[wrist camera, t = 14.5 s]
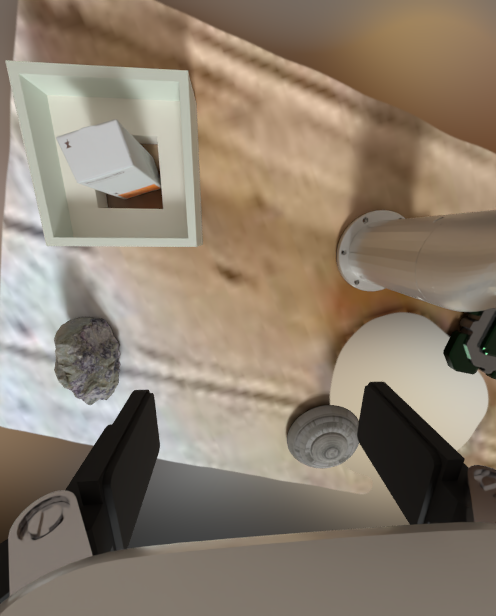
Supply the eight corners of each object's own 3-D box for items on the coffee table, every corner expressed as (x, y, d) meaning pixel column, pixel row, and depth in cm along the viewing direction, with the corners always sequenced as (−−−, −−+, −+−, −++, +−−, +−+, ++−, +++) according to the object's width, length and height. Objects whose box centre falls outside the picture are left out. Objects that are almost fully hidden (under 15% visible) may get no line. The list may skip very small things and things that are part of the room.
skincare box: (125, 201, 35) (74, 184, 24) (112, 168, 34) (52, 135, 22) (165, 188, 35) (134, 166, 24) (154, 156, 34) (115, 115, 22)
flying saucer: (366, 442, 52) (381, 466, 46) (301, 469, 53) (309, 495, 47) (344, 388, 47) (358, 408, 42) (274, 419, 48) (279, 441, 43)
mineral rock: (116, 392, 44) (84, 437, 34) (54, 370, 42) (2, 411, 32) (142, 333, 41) (115, 363, 31) (77, 306, 39) (27, 329, 29)
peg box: (196, 104, 32) (187, 70, 26) (202, 244, 38) (196, 246, 31) (53, 97, 31) (5, 60, 24) (80, 243, 36) (46, 245, 30)
